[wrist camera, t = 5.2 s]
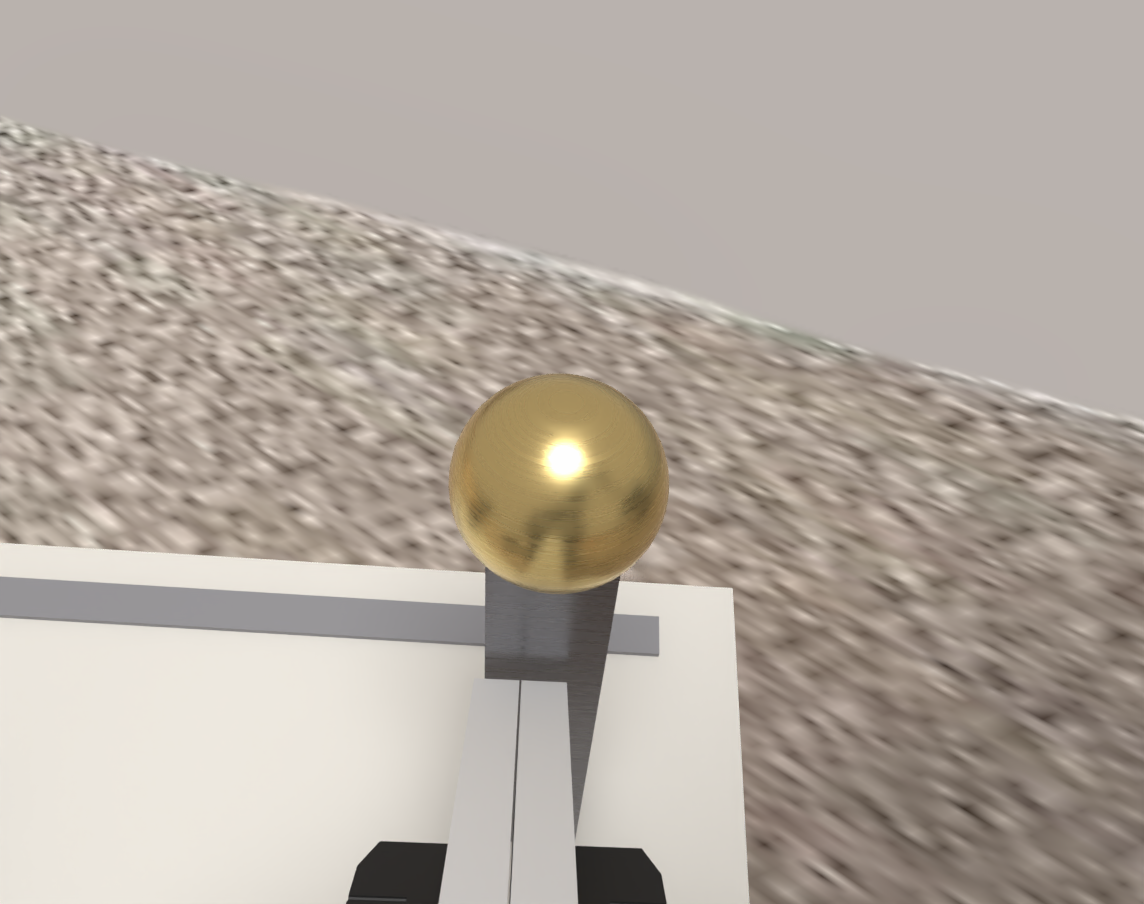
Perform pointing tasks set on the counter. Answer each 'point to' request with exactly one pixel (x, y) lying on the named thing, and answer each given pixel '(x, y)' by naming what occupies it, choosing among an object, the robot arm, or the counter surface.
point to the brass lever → (557, 531)
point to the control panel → (320, 726)
